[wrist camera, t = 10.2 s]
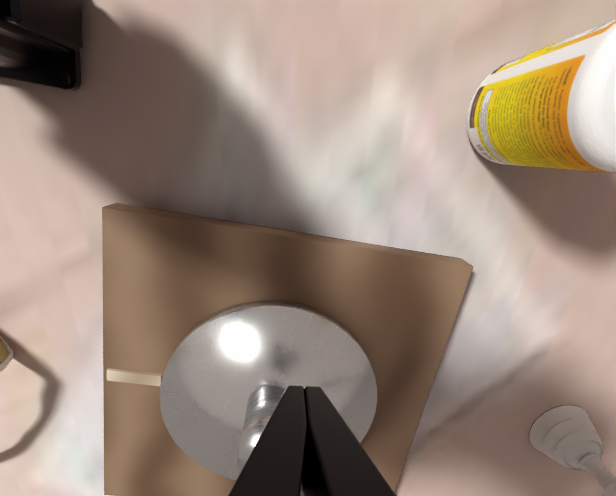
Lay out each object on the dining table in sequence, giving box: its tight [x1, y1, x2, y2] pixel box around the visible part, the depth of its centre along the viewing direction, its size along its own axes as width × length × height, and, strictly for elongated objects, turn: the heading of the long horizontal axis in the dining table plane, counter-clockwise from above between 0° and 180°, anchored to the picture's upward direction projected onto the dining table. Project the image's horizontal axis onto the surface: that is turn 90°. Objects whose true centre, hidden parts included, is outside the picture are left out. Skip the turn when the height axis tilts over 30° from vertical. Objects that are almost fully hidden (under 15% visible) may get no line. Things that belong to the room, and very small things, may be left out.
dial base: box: [102, 203, 473, 496], centre depth 23 cm, size 22×22×2 cm
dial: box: [159, 300, 377, 480], centre depth 20 cm, size 17×14×5 cm
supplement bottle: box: [467, 19, 616, 173], centre depth 14 cm, size 6×6×10 cm
